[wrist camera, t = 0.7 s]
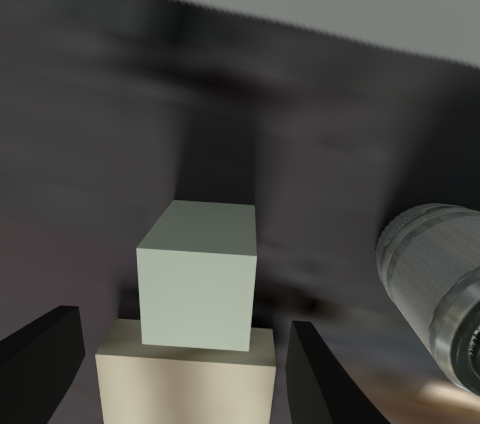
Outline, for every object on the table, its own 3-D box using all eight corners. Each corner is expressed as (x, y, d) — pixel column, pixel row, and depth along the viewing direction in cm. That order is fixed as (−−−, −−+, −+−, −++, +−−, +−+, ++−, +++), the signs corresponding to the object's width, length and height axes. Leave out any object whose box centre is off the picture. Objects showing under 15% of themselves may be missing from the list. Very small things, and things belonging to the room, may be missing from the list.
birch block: (272, 329, 20) (276, 366, 17) (259, 437, 23) (261, 483, 20) (117, 318, 20) (95, 354, 17) (127, 427, 23) (110, 472, 21)
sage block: (254, 205, 17) (256, 256, 12) (249, 275, 19) (248, 351, 13) (173, 199, 17) (136, 248, 12) (174, 270, 19) (142, 343, 13)
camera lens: (506, 241, 17) (694, 344, 10) (418, 313, 19) (524, 446, 12) (431, 172, 16) (582, 233, 9) (345, 256, 18) (412, 364, 11)
